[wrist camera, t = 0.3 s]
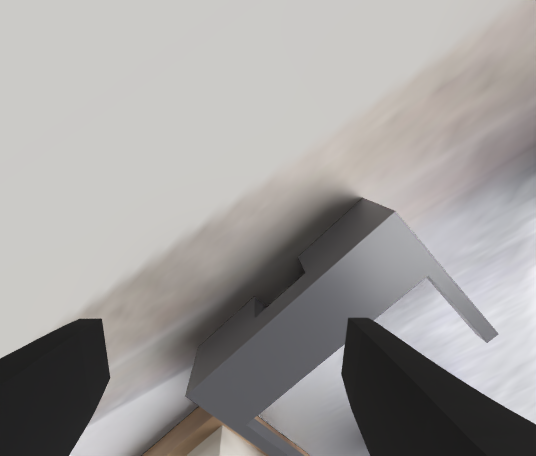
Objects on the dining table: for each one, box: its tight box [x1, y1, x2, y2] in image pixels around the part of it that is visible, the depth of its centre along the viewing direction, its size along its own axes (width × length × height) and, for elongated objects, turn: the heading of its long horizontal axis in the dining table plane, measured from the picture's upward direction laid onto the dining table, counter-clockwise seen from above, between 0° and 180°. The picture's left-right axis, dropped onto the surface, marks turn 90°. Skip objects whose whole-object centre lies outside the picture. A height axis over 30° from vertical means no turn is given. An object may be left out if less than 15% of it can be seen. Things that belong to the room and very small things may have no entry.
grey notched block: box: [185, 198, 498, 456], centre depth 17 cm, size 10×15×4 cm, turn 134°
